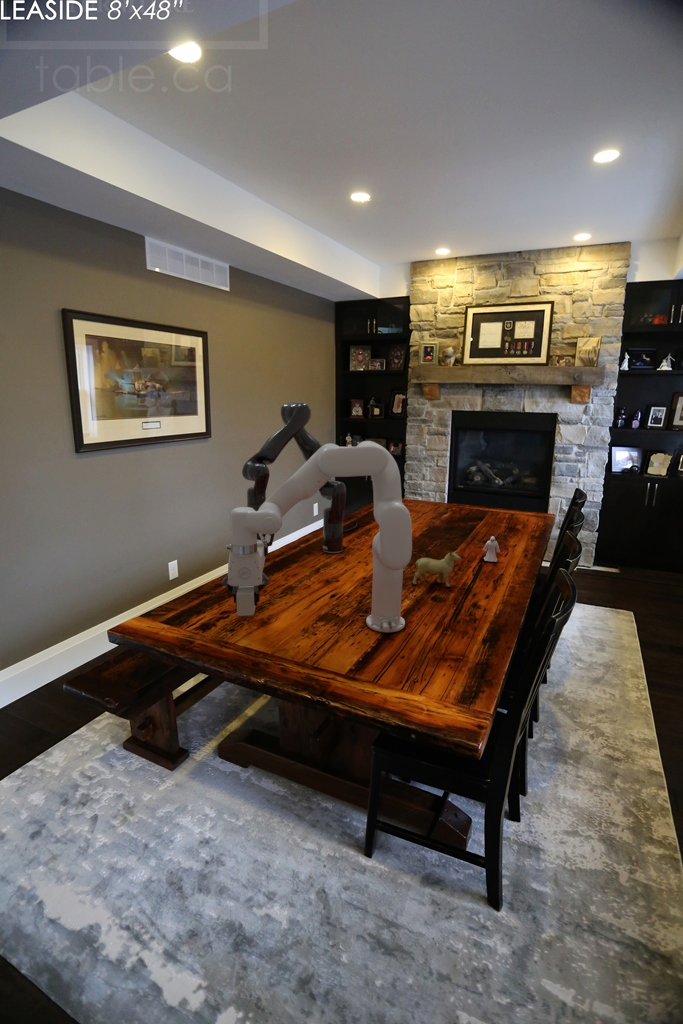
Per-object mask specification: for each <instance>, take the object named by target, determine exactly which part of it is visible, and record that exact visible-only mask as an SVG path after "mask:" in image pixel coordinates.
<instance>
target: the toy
mask: <svg viewBox="0 0 683 1024" xmlns="http://www.w3.org/2000/svg"><path fill="white" fill-rule="evenodd" d="M459 552H460V550H455V551H453V552H448V553H447V554H446V555H445V556H444V558H442V559H433V558H430V557H421V558H419V559H416V562H415V567H416V568H417V571H416V572H415V573H414V576H413V579H412V584H413V586H417V585H418V583H417V580H418V578H419V577H420V576H421V577H422V578H423V579H424V582H428V581H429V578H428V577H427V575H425V574H426V573H427V574H429V575H432V576H437V575H438V576H437V577H438V578H437V579H436V583H437V584H442V582H441V579H442V578H443V579H444V583H445V586H446V587H447V588H448V589H450V588H452V586H451V585H450V583H449V575H451V573H452V572H453V569H454V567H455V561H457V562H461V560H462V558H461V556H459V555H458V553H459Z"/></svg>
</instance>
